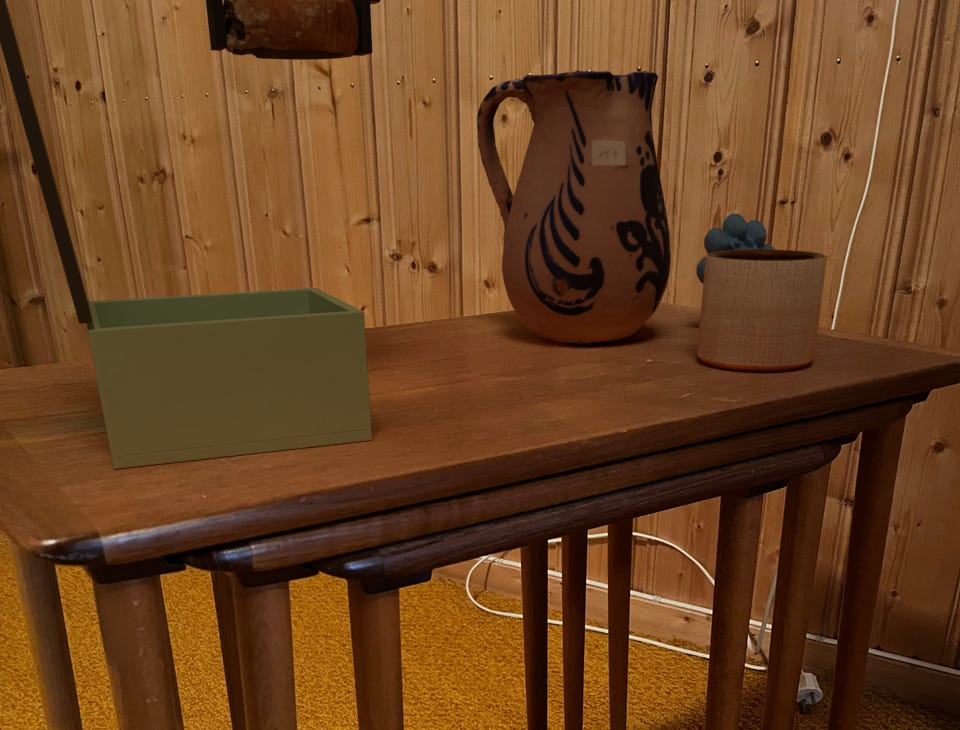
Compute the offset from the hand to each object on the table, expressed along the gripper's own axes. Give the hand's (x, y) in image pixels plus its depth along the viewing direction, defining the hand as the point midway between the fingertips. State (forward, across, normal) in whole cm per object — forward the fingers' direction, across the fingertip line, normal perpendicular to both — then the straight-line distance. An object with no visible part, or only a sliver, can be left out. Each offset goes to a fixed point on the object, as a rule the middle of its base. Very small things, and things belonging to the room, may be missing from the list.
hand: (292, 51), depth 73 cm
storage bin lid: (+7, -19, -10) cm, 22 cm away
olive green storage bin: (+25, -9, -10) cm, 29 cm away
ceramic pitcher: (+25, +32, +14) cm, 43 cm away
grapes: (+25, +51, +11) cm, 58 cm away
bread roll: (0, 0, 0) cm, 0 cm away
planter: (+25, +41, -6) cm, 48 cm away
